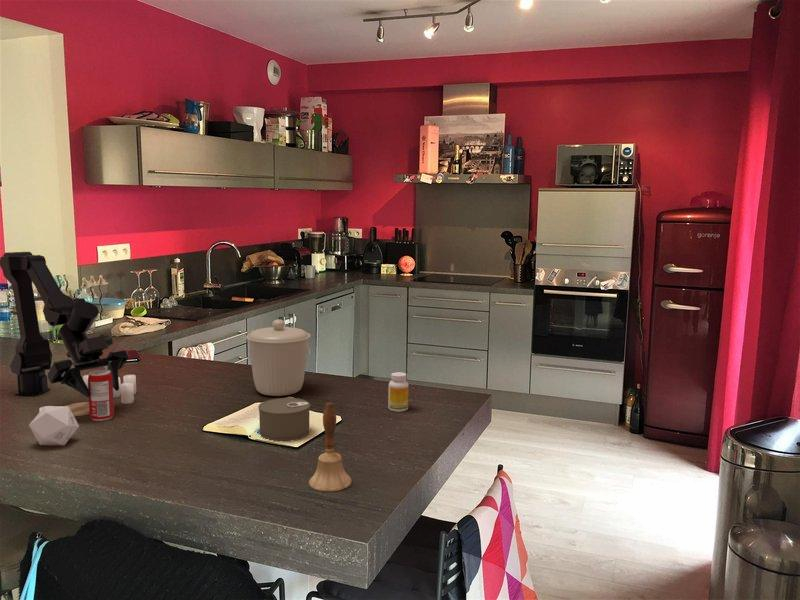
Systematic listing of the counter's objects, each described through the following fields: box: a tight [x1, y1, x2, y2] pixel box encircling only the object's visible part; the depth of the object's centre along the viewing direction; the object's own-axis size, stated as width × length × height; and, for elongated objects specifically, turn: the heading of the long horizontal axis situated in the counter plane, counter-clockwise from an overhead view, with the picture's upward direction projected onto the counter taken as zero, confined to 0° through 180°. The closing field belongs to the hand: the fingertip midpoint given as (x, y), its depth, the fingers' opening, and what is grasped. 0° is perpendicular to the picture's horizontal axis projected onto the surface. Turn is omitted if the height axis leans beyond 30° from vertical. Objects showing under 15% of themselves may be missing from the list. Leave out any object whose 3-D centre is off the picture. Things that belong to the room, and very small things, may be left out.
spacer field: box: [38, 374, 137, 414], centre depth 169 cm, size 17×33×5 cm, turn 177°
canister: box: [245, 319, 311, 397], centre depth 187 cm, size 18×18×21 cm
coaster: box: [65, 401, 90, 417], centre depth 169 cm, size 10×10×1 cm
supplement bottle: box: [387, 371, 410, 413], centre depth 174 cm, size 5×5×10 cm
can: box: [257, 397, 311, 442], centre depth 154 cm, size 12×12×7 cm
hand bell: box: [308, 401, 352, 492], centre depth 126 cm, size 8×8×16 cm
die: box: [28, 405, 80, 446], centre depth 145 cm, size 8×9×10 cm
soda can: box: [88, 369, 115, 422], centre depth 162 cm, size 6×6×12 cm
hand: (103, 393), depth 161 cm, fingers open, 7 cm apart
